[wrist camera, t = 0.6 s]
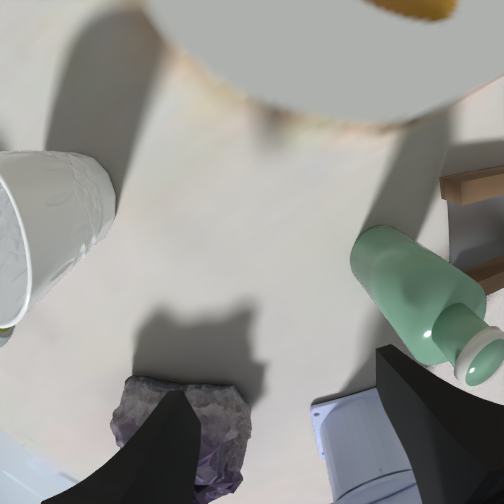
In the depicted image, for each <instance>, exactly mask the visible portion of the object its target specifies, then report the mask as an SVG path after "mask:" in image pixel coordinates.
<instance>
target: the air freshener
mask: <svg viewBox="0 0 504 504" xmlns="http://www.w3.org/2000/svg"><path fill="white" fill-rule="evenodd" d="M14 328H15V325H13V326H11V327H8V328H0V348H1V347H2V346H3V345H5V344H6V343H7V342H8V340H9V339H10V337H11V336H12V333H13V330H14Z"/></svg>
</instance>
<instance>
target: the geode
mask: <svg viewBox="0 0 504 504" xmlns="http://www.w3.org/2000/svg"><path fill="white" fill-rule="evenodd" d="M173 390H183V391H184V393H185V395H186V397H187V399H188V400H189V402H190V404H191V406H192V408H193V410H194V411H195V413H196V415H197V417H198V419H199V420H200V422H201V447H200V454H199V460H198V466H197V473H196V479H195V485H194V491H193V501H192V504H208V503H209V502H211V501H213V500H215V499H217V498H219V497H221V496H223V495H227V494H228V493H234V492H235V491H236V489H237V488H238V486H239V485H240V484H241V482H242V481H243V477H242V475H241V473H240V470H241V467H242V465H243V460H244V455H245V451H246V447H247V441H248V439H249V438H250V437H251V435H250V434H251V430H252V426H251V419H250V416H251V406H250V404H249V403H248V402H247V401H245V400H244V399H243V397H242V395H241V394H240V392H239V391H238V389H237V388H236V386H235V385H213V384H200V385H194V384H190V385H180V384H176V383H173V382H164V381H161V380H157V379H154V378H150V377H145V376H134V375H133V376H131V377H128V378H127V380H126V381H125V388H124V391H123V394H122V398H121V403H120V406H119V407H118V408H117V409H115V410H114V412H113V419H112V420H111V422H110V427H111V430H112V432H113V434H114V435H115V438H116V444H117V446H119V447H120V449H121V448H122V447H123V446H124V445H125V444H126V443H127V442H128V440H129V439H130V438H131V437H132V436H133V435H134V434H135V433H136V431H137V430H138V429H139V428H140V427H141V425H142V424H143V423H144V422H145V420H146V419H147V418H148V416H149V415H150V414H151V413H152V411H153V410H154V409H155V407H156V406H157V405H158V403H159V402H160V401H161V399H162V398H163V397H164V396H165V394H166V393H167V392H168V391H173Z"/></svg>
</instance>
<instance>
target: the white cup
mask: <svg viewBox="0 0 504 504" xmlns="http://www.w3.org/2000/svg"><path fill="white" fill-rule="evenodd" d="M115 200H116V194H115V191H114V188H113V186H112V183H111V180H110V177H109V174H108V172H107V171H106V170H105V169H104V168H103V167H102V166H101V165H100V164H99V163H98V162H97V161H96V160H95V159H94V158H93V157H89V156H86V155H83V154H80V153H76V152H58V151H35V150H23V151H0V328H8V327H11V326H13V325H15V324H17V323H18V322H19V321H20V320H21V319H22V318H23V317H24V316H25V315H26V314H27V313H28V312H29V311H30V310H31V309H32V308H33V306H34V305H35V304H36V303H37V302H38V301H39V300H40V299H42V298H43V297H44V296H45V295H46V294H47V293H48V292H49V291H50V290H51V289H52V288H53V287H54V286H55V285H56V284H57V283H58V282H59V281H60V280H61V279H63V278H64V277H65V276H66V275H67V274H68V273H69V272H70V271H71V270H72V269H73V268H74V267H75V266H76V265H77V264H78V263H79V262H80V261H81V260H82V259H83V258H84V257H85V256H86V254H87V253H88V252H89V251H90V250H91V249H92V248H93V247H94V246H95V245H96V244H98V243H99V242H100V241H101V240H103V239H104V238H105V237H106V235H107V233H108V231H109V229H110V227H111V225H112V223H113V220H114V218H115Z"/></svg>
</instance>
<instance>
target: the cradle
mask: <svg viewBox="0 0 504 504" xmlns="http://www.w3.org/2000/svg"><path fill="white" fill-rule="evenodd" d="M439 179H440V187H441V197H442V199H444V200H447V205H448V220H449V244H450V264H452V265H453V266H454V267H456V268H457V269H459V270H460V271H462V272H463V273H465V274H466V275H468V276H469V277H470V278H472V279H473V280H475V281H476V282H477V283H479V284H480V285H481V287H482V288H483V290H484V292H485V295H486V296H487V295H489V294H491V293H493V292H495V291H498V290H500V289H502V288H504V166H499V167H494V168H488V169H483V170H477V171H472V172H467V173H461V174H456V175H451V176H446V177H441V178H439Z"/></svg>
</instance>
